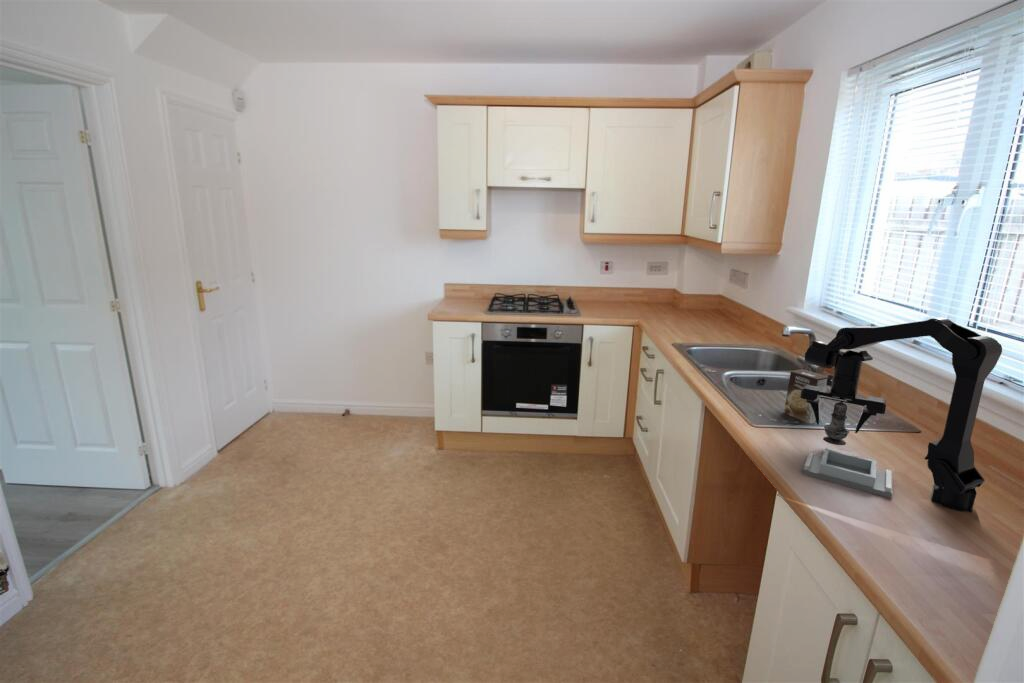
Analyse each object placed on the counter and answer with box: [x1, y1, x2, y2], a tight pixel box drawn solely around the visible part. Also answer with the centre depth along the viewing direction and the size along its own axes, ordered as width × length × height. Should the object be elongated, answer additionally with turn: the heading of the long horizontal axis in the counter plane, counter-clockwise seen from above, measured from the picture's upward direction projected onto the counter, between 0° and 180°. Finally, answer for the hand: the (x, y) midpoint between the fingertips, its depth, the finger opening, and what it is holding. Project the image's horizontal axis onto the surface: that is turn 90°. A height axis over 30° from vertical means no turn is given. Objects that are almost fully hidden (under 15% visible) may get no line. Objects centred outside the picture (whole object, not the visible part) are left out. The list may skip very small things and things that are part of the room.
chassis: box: [801, 448, 893, 499], centre depth 121 cm, size 18×12×4 cm, turn 53°
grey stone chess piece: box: [822, 401, 850, 446], centre depth 132 cm, size 6×6×12 cm
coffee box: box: [783, 368, 829, 424], centre depth 154 cm, size 9×6×16 cm
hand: (836, 428), depth 132 cm, fingers closed on grey stone chess piece, 8 cm apart
